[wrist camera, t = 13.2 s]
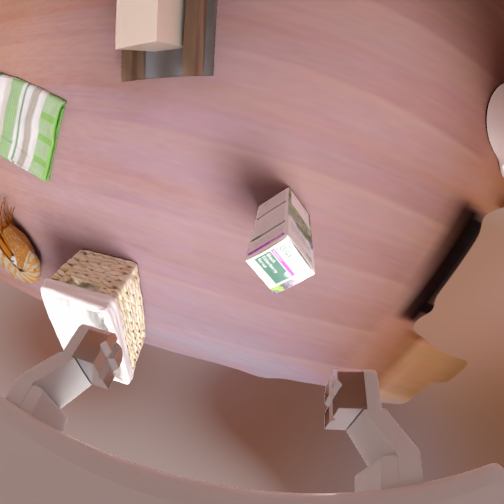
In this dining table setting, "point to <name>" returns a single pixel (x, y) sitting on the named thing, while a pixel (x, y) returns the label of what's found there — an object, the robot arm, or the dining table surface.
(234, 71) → the dining table surface
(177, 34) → the white rectangular block
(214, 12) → the slot rack
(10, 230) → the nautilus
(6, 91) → the dish towel
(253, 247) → the syrup box
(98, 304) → the storage basket
